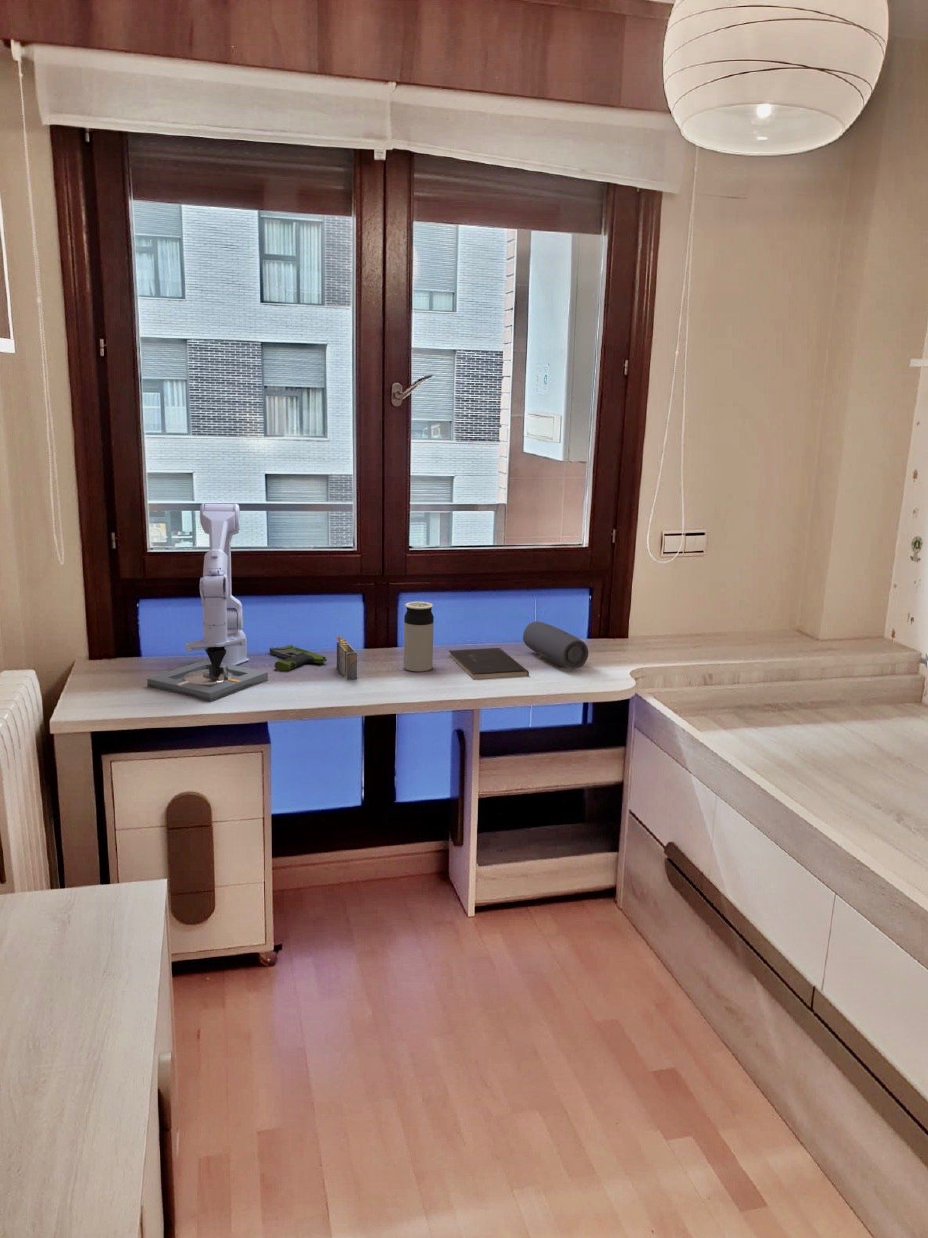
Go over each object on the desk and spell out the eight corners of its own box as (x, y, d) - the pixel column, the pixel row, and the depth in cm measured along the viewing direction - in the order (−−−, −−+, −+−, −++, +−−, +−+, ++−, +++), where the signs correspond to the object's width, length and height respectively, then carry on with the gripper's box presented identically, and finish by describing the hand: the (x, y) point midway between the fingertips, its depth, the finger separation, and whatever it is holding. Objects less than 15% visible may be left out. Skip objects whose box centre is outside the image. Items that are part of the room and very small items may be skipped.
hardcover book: (472, 681, 252) (472, 673, 252) (448, 658, 274) (448, 650, 273) (528, 678, 257) (529, 670, 256) (501, 655, 278) (501, 647, 278)
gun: (246, 659, 266) (291, 651, 276) (285, 673, 252) (330, 663, 263) (246, 650, 265) (291, 642, 275) (285, 664, 252) (330, 655, 262)
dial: (173, 681, 240) (172, 664, 238) (207, 669, 250) (207, 654, 249) (209, 689, 234) (208, 672, 233) (242, 677, 244) (242, 661, 243)
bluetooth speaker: (589, 671, 263) (591, 637, 261) (560, 675, 259) (562, 639, 257) (547, 650, 283) (549, 618, 280) (520, 653, 279) (522, 620, 276)
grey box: (335, 669, 259) (335, 635, 257) (345, 668, 260) (346, 634, 258) (345, 681, 249) (345, 645, 247) (356, 680, 250) (357, 644, 248)
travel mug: (432, 672, 257) (433, 608, 253) (402, 671, 257) (403, 607, 253) (432, 664, 265) (434, 601, 261) (404, 663, 265) (405, 600, 261)
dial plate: (206, 667, 256) (206, 658, 255) (267, 680, 246) (267, 671, 246) (147, 686, 238) (146, 677, 237) (210, 702, 228) (210, 692, 228)
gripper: (190, 629, 228) (192, 683, 231) (249, 623, 235) (249, 676, 238) (182, 623, 233) (184, 676, 236) (239, 617, 241) (240, 669, 244)
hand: (216, 675), depth 238 cm, fingers closed, pressing on dial
